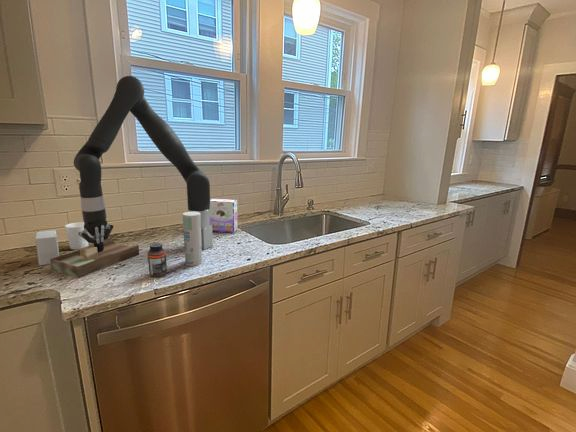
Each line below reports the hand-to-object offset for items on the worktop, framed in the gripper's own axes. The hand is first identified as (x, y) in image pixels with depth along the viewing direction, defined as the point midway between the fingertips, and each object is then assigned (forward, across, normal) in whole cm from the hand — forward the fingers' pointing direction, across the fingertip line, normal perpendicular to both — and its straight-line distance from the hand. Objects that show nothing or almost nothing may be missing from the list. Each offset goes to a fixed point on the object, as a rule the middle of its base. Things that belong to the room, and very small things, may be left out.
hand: (99, 251), depth 122 cm
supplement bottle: (+4, +2, -29) cm, 29 cm away
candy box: (+5, +56, -17) cm, 59 cm away
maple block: (+1, -4, 0) cm, 4 cm away
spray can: (+4, +16, -33) cm, 36 cm away
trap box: (+4, -1, 0) cm, 4 cm away
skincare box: (+4, -9, +17) cm, 20 cm away
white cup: (+4, +5, +21) cm, 22 cm away
